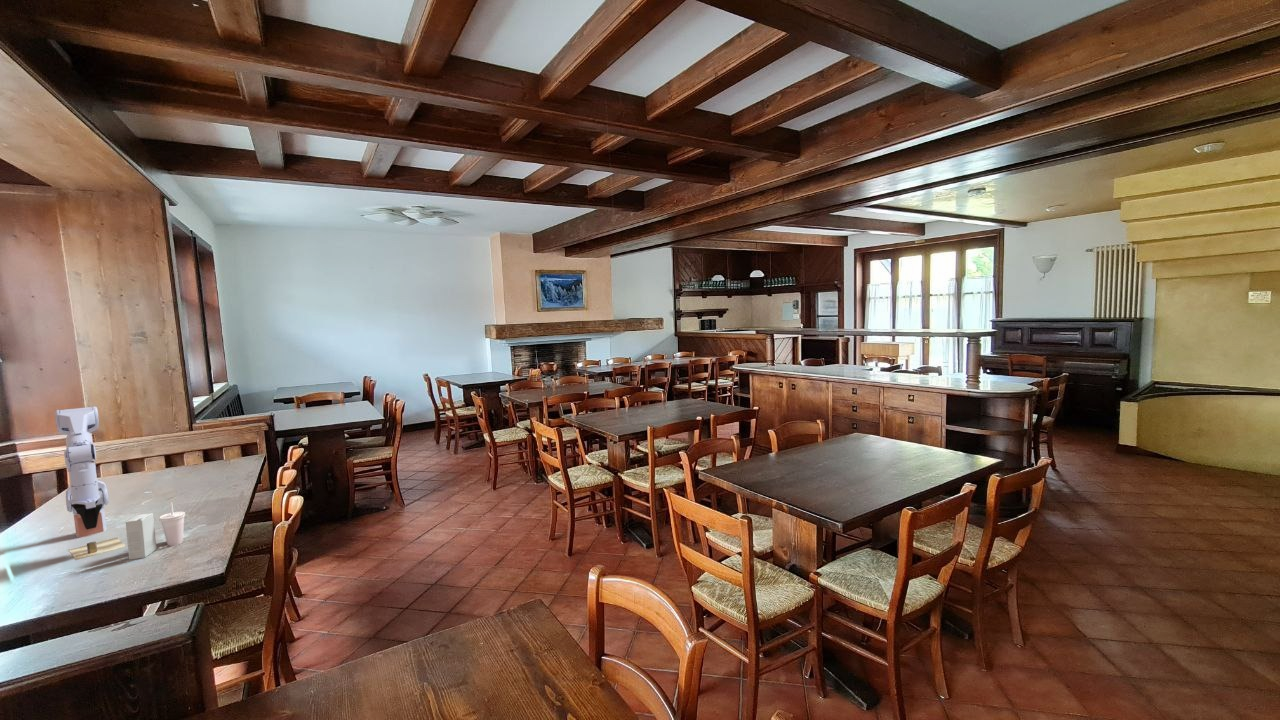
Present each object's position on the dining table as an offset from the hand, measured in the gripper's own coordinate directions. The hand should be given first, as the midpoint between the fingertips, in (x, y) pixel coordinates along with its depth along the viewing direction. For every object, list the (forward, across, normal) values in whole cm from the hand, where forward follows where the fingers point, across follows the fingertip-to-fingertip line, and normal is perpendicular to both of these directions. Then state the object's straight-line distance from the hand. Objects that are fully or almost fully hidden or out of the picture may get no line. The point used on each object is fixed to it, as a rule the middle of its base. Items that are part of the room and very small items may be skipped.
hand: (89, 526), depth 162 cm
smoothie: (+9, +12, +17) cm, 23 cm away
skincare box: (+9, +14, +9) cm, 19 cm away
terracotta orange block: (+2, 0, 0) cm, 2 cm away
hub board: (+9, -3, +2) cm, 10 cm away
